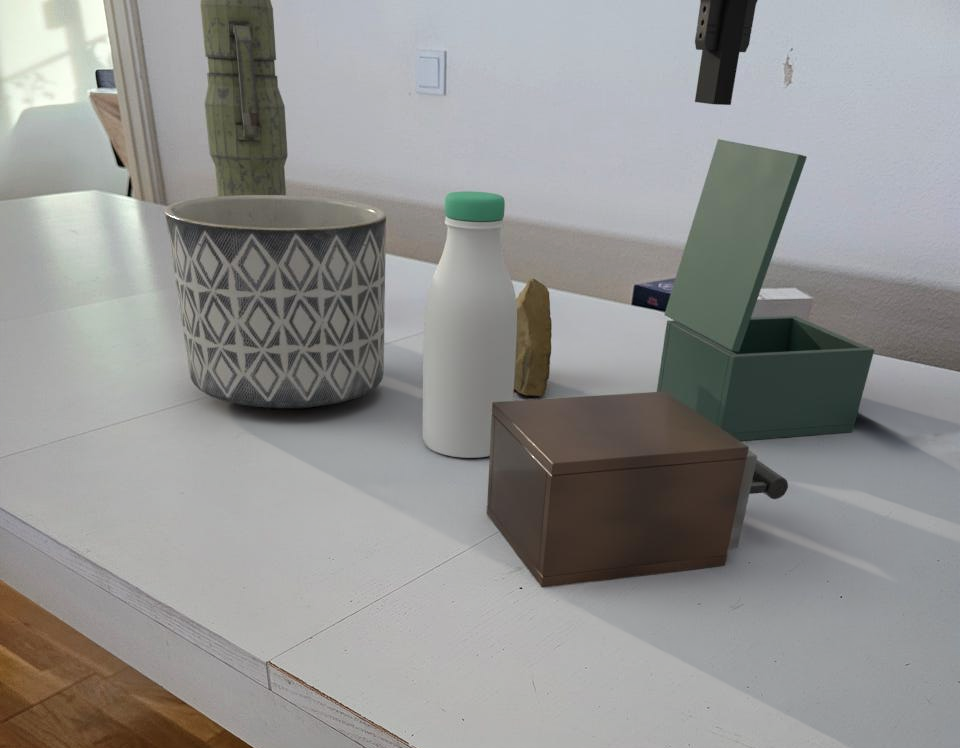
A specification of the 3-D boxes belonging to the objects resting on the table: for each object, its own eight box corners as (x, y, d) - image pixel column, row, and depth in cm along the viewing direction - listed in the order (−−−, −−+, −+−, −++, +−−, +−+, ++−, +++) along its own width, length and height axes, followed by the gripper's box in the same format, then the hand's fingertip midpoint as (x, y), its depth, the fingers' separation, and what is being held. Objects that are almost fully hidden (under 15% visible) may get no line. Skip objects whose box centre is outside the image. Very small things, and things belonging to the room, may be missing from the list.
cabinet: (649, 498, 74) (665, 390, 69) (725, 565, 64) (749, 447, 60) (486, 514, 70) (491, 401, 65) (541, 588, 61) (552, 463, 56)
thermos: (285, 300, 124) (264, -23, 105) (307, 322, 114) (288, -27, 96) (218, 303, 120) (182, -29, 102) (234, 326, 111) (199, -34, 92)
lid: (724, 141, 83) (717, 139, 83) (807, 156, 73) (799, 154, 73) (671, 316, 90) (663, 315, 90) (739, 352, 80) (731, 351, 80)
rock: (573, 381, 91) (583, 341, 98) (524, 307, 87) (539, 271, 95) (485, 432, 96) (501, 391, 104) (435, 365, 92) (455, 326, 100)
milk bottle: (521, 457, 80) (539, 201, 69) (434, 463, 78) (438, 201, 67) (495, 426, 86) (507, 187, 75) (413, 431, 84) (414, 186, 73)
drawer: (716, 484, 74) (732, 401, 70) (791, 542, 66) (813, 450, 62) (518, 503, 69) (524, 415, 66) (572, 567, 61) (582, 470, 57)
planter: (269, 353, 102) (257, 188, 94) (422, 383, 96) (424, 209, 87) (144, 400, 88) (115, 210, 79) (315, 440, 81) (304, 237, 72)
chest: (778, 391, 99) (795, 315, 95) (852, 432, 89) (874, 349, 85) (655, 399, 95) (666, 320, 91) (718, 443, 85) (734, 356, 81)
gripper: (828, -300, 63) (756, 103, 76) (659, -334, 59) (613, 97, 72) (906, -333, 57) (814, 109, 70) (724, -374, 53) (661, 104, 66)
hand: (712, 103), depth 71 cm, fingers closed
